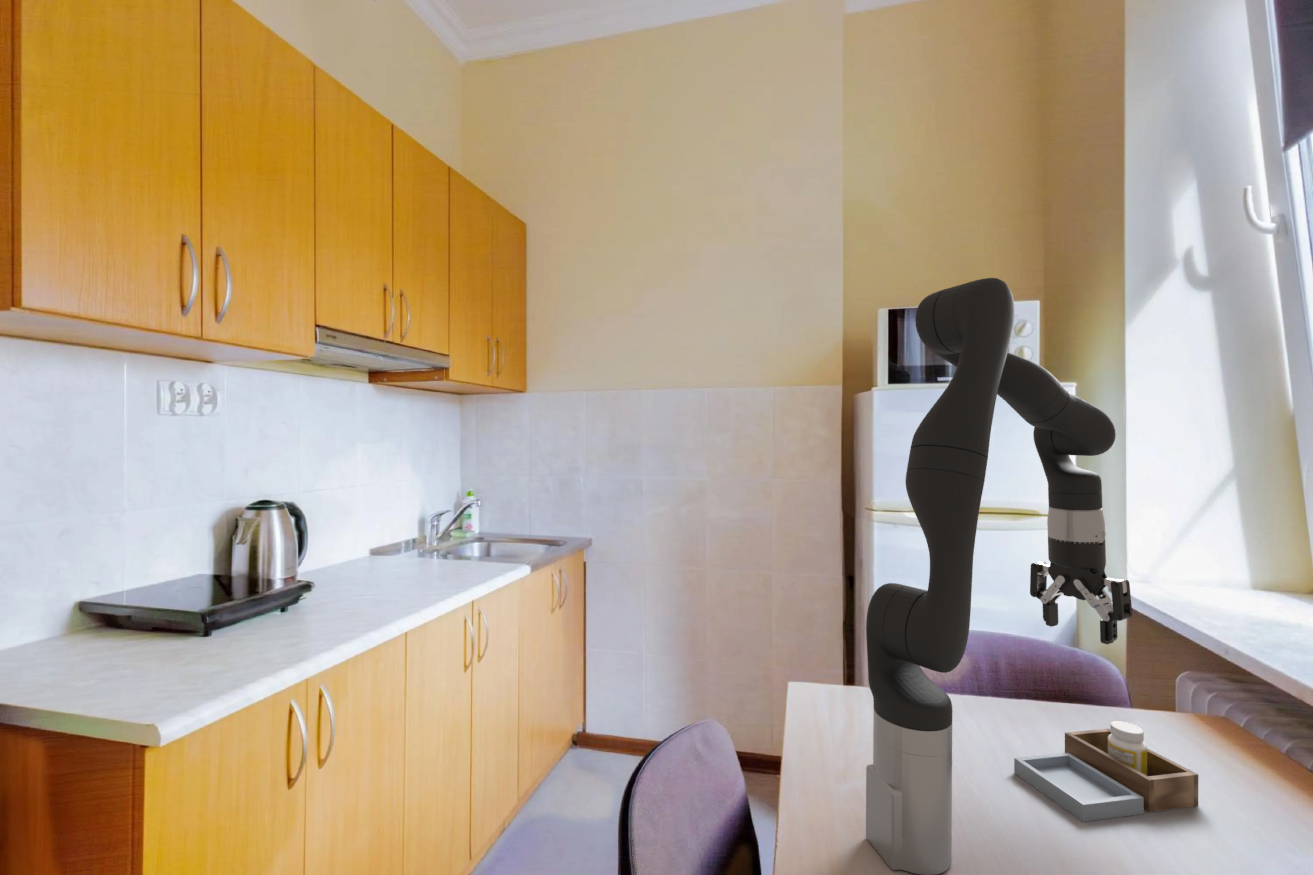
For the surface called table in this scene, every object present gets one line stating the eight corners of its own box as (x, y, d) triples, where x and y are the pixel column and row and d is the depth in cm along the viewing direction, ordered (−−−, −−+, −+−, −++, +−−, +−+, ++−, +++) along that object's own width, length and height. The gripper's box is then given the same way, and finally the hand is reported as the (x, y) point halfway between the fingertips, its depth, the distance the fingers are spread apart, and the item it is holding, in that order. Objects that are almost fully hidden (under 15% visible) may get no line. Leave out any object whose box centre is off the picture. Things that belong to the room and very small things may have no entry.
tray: (1083, 821, 79) (1083, 804, 79) (1014, 772, 91) (1014, 757, 91) (1143, 813, 81) (1143, 797, 81) (1068, 766, 93) (1068, 752, 93)
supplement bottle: (1132, 773, 91) (1132, 720, 91) (1155, 791, 87) (1155, 735, 87) (1100, 771, 92) (1100, 718, 92) (1121, 789, 87) (1121, 733, 87)
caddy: (1149, 811, 82) (1149, 780, 82) (1064, 759, 95) (1064, 732, 95) (1198, 805, 83) (1198, 774, 83) (1108, 755, 97) (1108, 728, 97)
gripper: (1017, 530, 98) (1020, 624, 99) (1109, 546, 85) (1112, 654, 86) (1047, 525, 101) (1050, 616, 102) (1140, 539, 88) (1143, 644, 88)
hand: (1078, 633), depth 94 cm, fingers open, 8 cm apart
